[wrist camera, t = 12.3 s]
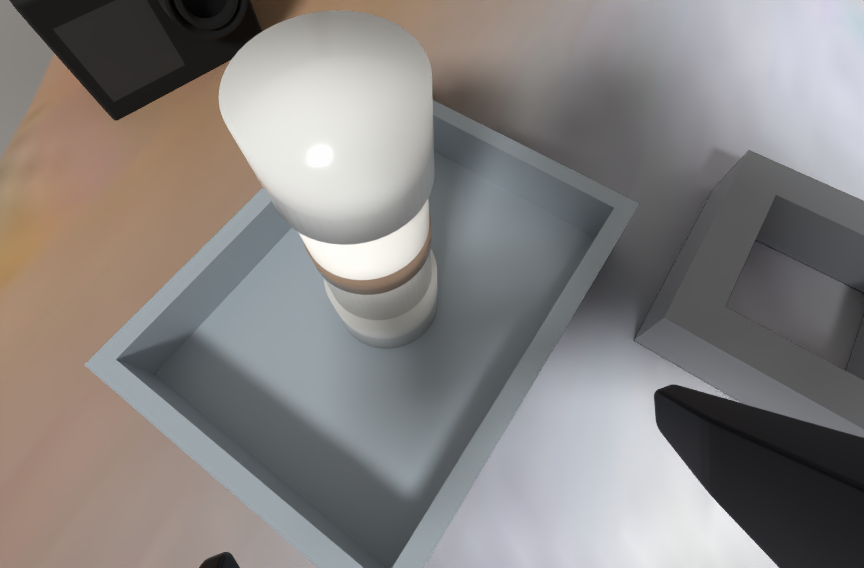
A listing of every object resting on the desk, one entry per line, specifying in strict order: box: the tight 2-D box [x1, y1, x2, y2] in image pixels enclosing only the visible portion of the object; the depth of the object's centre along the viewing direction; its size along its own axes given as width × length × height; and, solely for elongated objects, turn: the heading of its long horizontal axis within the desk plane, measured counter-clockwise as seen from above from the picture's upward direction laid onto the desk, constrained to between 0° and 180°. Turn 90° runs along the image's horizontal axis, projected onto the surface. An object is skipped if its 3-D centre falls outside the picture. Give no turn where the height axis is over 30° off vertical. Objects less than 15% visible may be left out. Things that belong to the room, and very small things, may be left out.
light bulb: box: [219, 10, 438, 349], centre depth 15 cm, size 4×4×12 cm
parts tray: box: [85, 100, 640, 568], centre depth 20 cm, size 18×14×4 cm
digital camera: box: [10, 0, 262, 120], centre depth 25 cm, size 10×5×7 cm, turn 130°
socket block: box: [634, 150, 864, 438], centre depth 20 cm, size 10×10×3 cm
